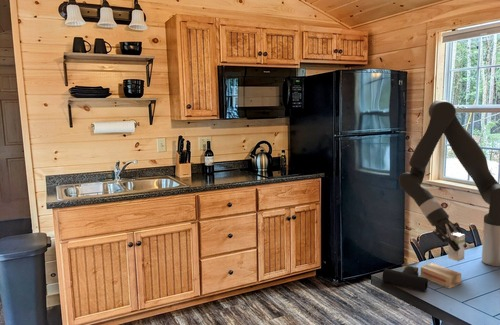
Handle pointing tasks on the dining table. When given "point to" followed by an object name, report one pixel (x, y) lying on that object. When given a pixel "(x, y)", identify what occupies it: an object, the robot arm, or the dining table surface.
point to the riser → (441, 275)
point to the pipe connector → (406, 278)
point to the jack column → (460, 242)
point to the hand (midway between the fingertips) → (461, 248)
